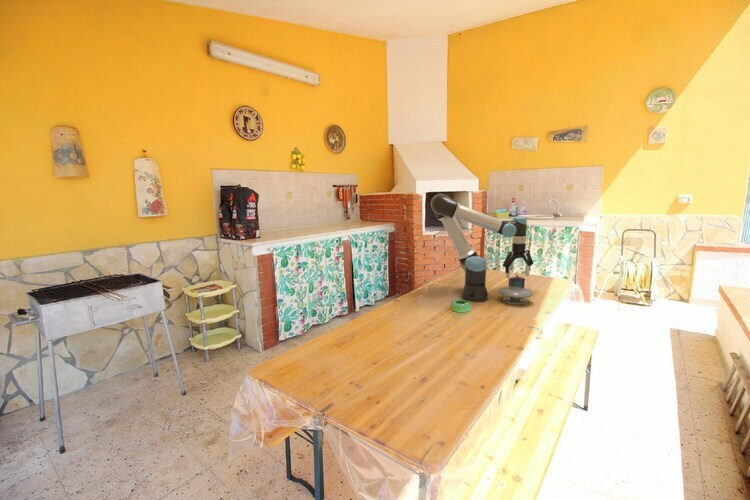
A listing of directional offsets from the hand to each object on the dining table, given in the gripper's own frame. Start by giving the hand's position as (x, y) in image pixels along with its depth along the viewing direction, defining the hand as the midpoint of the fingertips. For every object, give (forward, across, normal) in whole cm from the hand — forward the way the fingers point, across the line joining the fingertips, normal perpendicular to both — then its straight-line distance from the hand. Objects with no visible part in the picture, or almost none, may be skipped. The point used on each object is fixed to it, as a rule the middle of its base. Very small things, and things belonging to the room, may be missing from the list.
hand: (517, 277), depth 217 cm
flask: (+10, -1, 0) cm, 10 cm away
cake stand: (+9, -13, -15) cm, 22 cm away
